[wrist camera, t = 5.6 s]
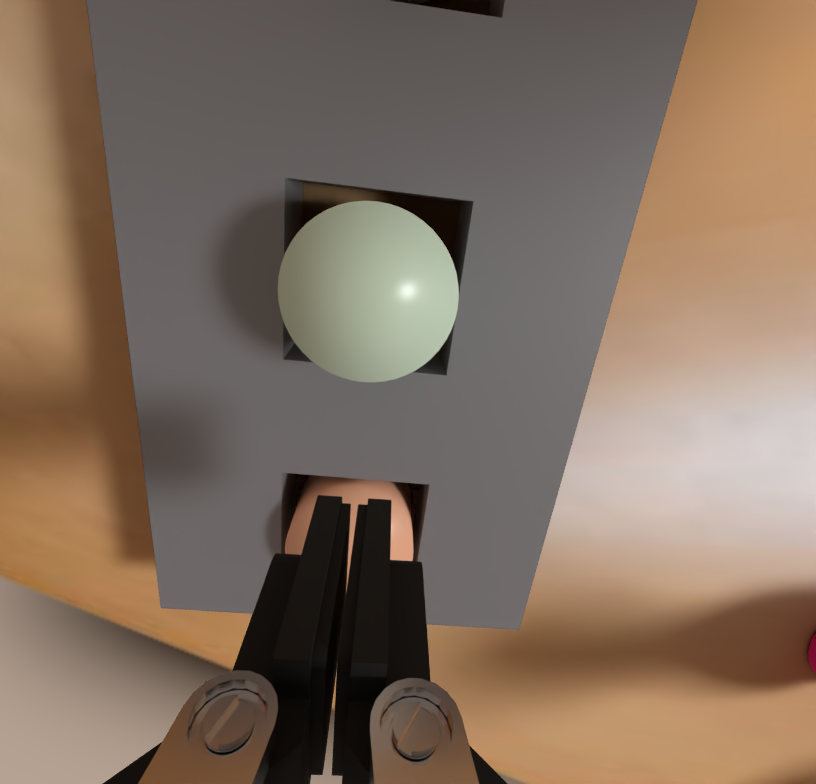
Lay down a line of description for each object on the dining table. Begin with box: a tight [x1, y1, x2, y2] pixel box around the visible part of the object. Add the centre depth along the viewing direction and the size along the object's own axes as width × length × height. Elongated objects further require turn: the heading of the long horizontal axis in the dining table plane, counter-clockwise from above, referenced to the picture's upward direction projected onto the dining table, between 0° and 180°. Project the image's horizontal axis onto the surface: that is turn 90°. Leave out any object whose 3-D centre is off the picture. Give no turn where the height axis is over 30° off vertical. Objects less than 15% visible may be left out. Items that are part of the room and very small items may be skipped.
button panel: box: [86, 0, 697, 630], centre depth 14 cm, size 26×14×2 cm, turn 173°
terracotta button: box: [285, 475, 414, 592], centre depth 17 cm, size 4×4×3 cm
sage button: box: [278, 201, 459, 382], centre depth 12 cm, size 4×4×3 cm
